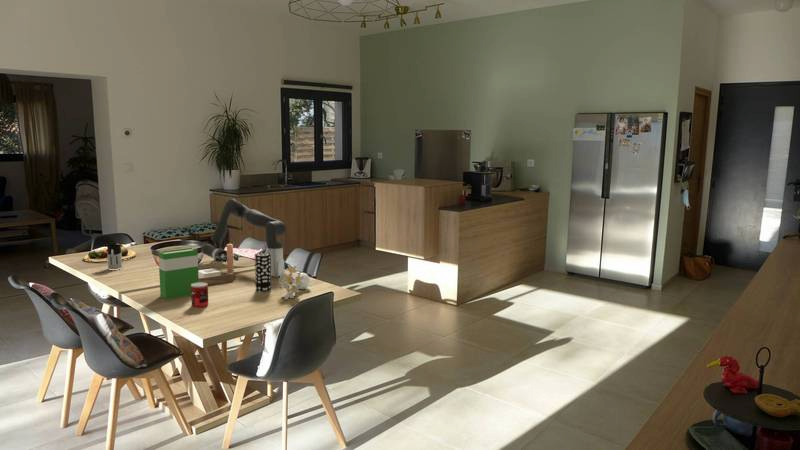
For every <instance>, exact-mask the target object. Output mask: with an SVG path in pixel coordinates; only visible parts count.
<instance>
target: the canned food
mask: <svg viewBox="0 0 800 450" xmlns="http://www.w3.org/2000/svg"><path fill="white" fill-rule="evenodd" d="M208 286H209V285H208V284H207V283H204V282H198V283H193V284H191V295H190V297H191V306H192V308H195V309H196V308H197V309H198V308H206V307H208V305H209V287H208Z"/></svg>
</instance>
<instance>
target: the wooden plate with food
mask: <svg viewBox="0 0 800 450" xmlns="http://www.w3.org/2000/svg"><path fill="white" fill-rule="evenodd" d="M107 253H108V250H107V247H105V248H102V249H100V250H98V251H97V250H95V249H94V250H91V251H89V252H88V253H87V254H86V255H85V256H84V257H83V259H84V260H88V261H99V262H107V261H108V255H107ZM121 253H122V260H124V259H128V258H131V257H134V256H135V255H136V256H137V254H136V252H135V251H133V250H128V248H127V247H125V246H121ZM136 256H135V257H136ZM135 257H134V258H135ZM89 258H90V259H89ZM84 260H83V261H84Z"/></svg>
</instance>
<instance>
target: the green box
mask: <svg viewBox="0 0 800 450" xmlns="http://www.w3.org/2000/svg"><path fill="white" fill-rule="evenodd" d="M198 251H199V250H198V249H193V247H186V248H177V249H169V250H162V251H158V269H159V271H158V272H159V273H158V274H159V290H160V291H159V293H160V297H161V298H163V299H164V300H171V299H177V298H183V297H188V296H191V284H193V283H198V282H199V276H198V270H199V254H198Z"/></svg>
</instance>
